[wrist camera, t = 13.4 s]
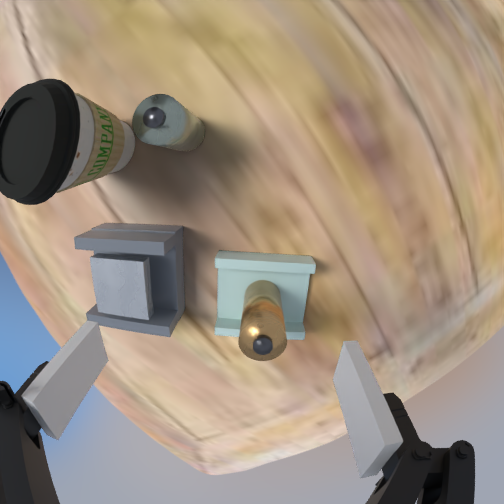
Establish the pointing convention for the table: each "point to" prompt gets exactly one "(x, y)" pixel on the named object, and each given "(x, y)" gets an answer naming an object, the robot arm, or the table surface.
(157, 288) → the cradle
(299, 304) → the trough
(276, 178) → the table surface
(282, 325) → the cell
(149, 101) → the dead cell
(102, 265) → the plate
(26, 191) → the coffee cup
